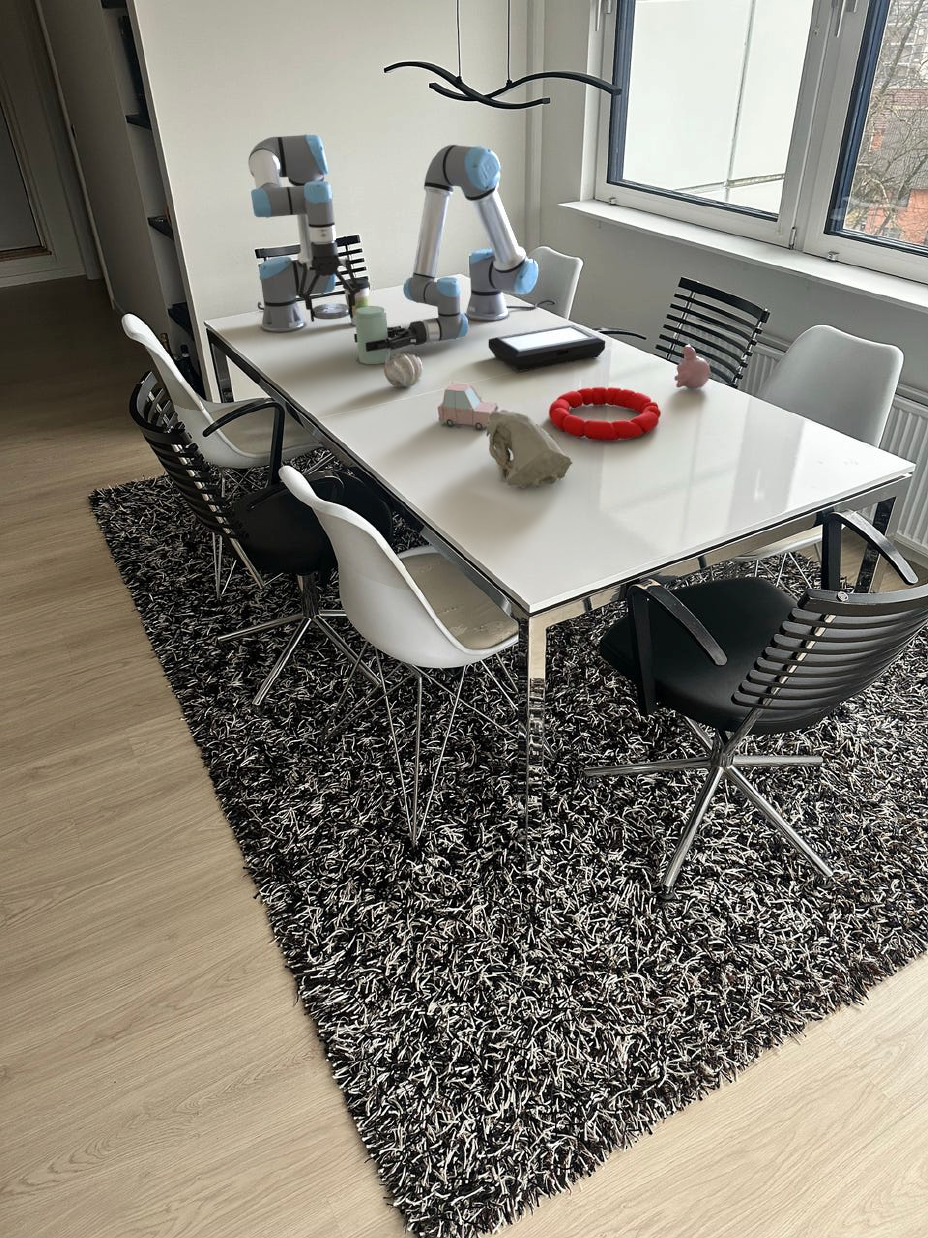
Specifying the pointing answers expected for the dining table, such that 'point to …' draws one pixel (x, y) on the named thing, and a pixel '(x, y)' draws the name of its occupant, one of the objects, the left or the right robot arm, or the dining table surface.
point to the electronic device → (546, 347)
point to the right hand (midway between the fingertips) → (360, 342)
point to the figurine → (692, 370)
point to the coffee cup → (358, 295)
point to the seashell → (403, 369)
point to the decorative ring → (604, 428)
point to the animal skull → (525, 450)
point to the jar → (371, 333)
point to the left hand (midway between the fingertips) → (332, 318)
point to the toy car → (465, 406)
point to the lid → (331, 311)
